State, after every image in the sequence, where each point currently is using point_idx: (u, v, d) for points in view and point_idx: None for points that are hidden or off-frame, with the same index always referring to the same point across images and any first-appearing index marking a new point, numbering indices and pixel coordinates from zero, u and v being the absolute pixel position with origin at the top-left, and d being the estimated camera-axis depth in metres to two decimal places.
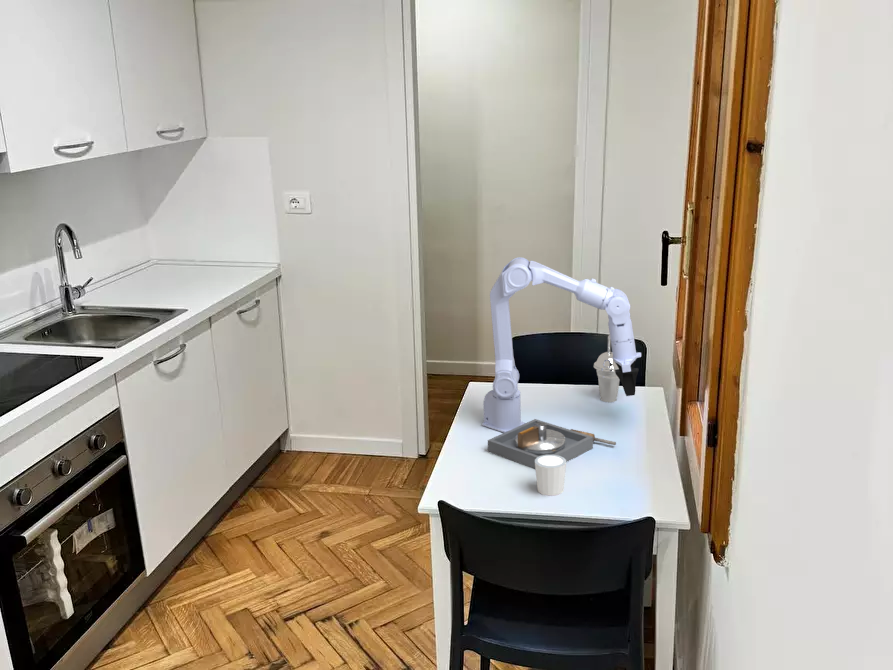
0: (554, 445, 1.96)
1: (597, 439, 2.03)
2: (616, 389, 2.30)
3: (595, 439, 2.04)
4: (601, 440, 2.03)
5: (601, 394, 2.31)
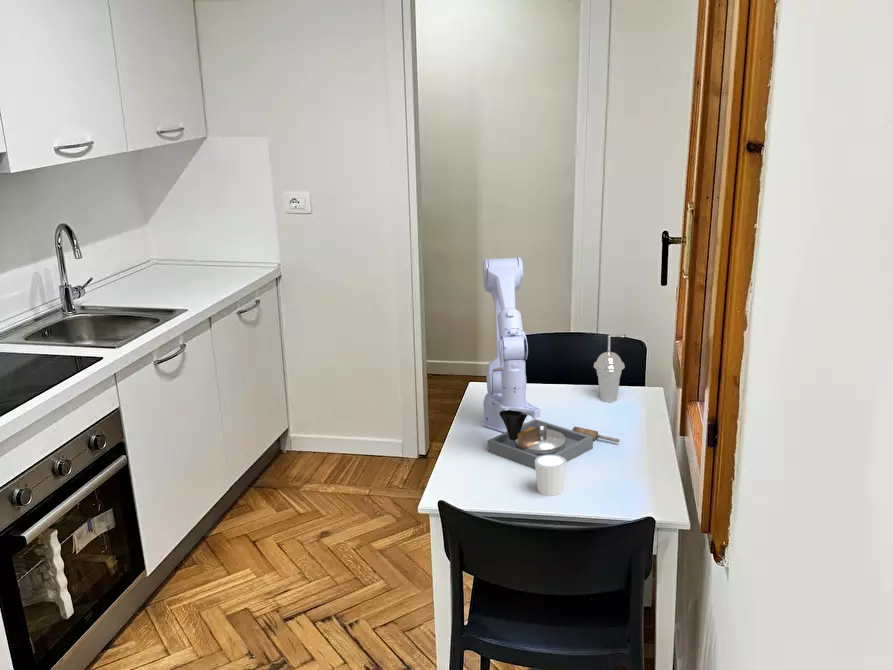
0: (554, 445, 1.96)
1: None
2: (616, 389, 2.30)
3: (599, 435, 2.06)
4: None
5: (601, 394, 2.31)
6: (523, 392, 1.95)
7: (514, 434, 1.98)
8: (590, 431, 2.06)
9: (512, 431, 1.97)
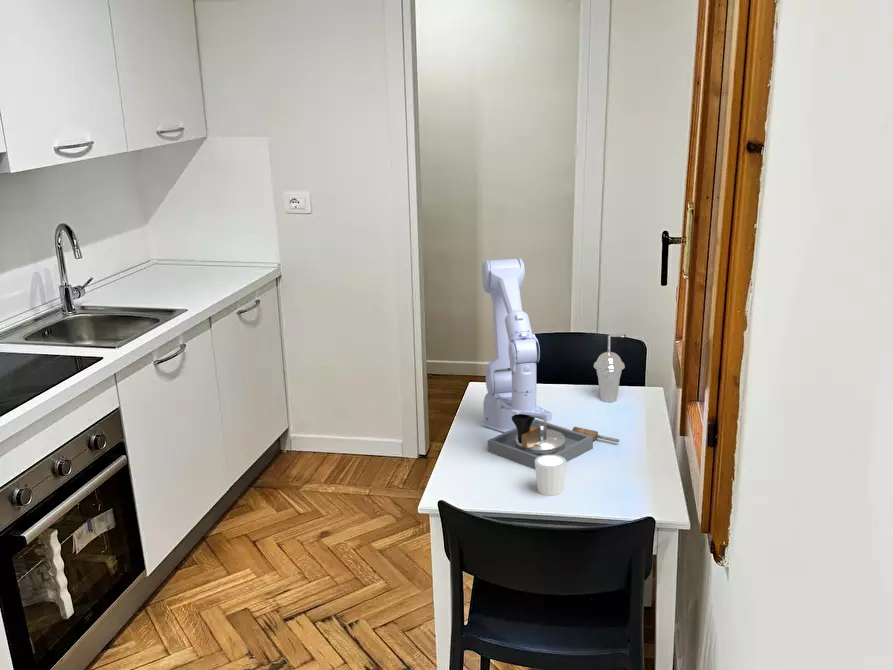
0: (557, 444, 1.97)
1: None
2: (616, 389, 2.30)
3: (599, 435, 2.05)
4: (605, 436, 2.05)
5: (601, 394, 2.31)
6: (534, 395, 1.92)
7: (521, 437, 1.96)
8: (590, 431, 2.06)
9: (520, 434, 1.96)
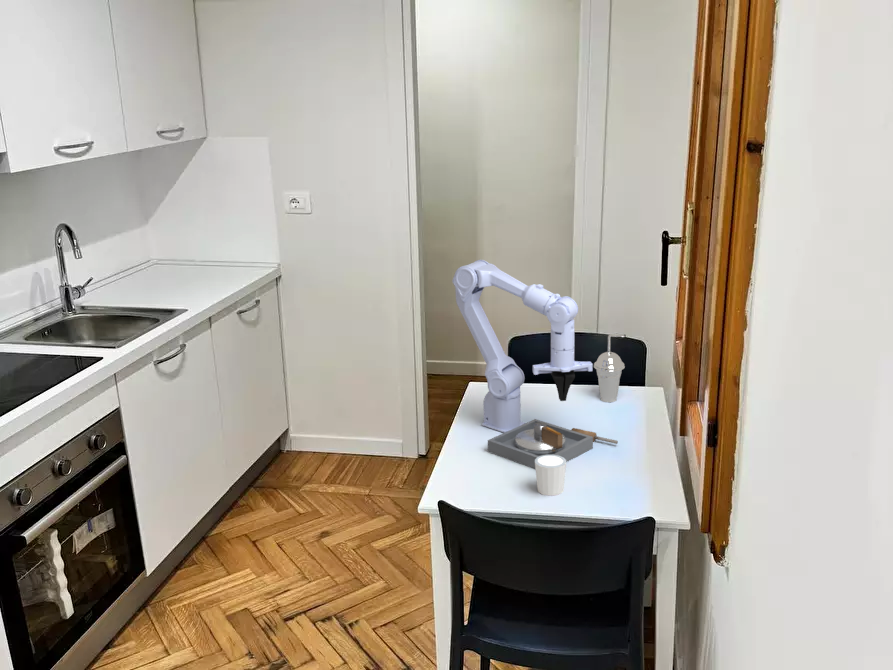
0: None
1: (599, 437, 2.04)
2: (616, 389, 2.30)
3: (597, 437, 2.04)
4: (603, 438, 2.04)
5: (601, 394, 2.31)
6: None
7: None
8: None
9: (566, 391, 2.04)
